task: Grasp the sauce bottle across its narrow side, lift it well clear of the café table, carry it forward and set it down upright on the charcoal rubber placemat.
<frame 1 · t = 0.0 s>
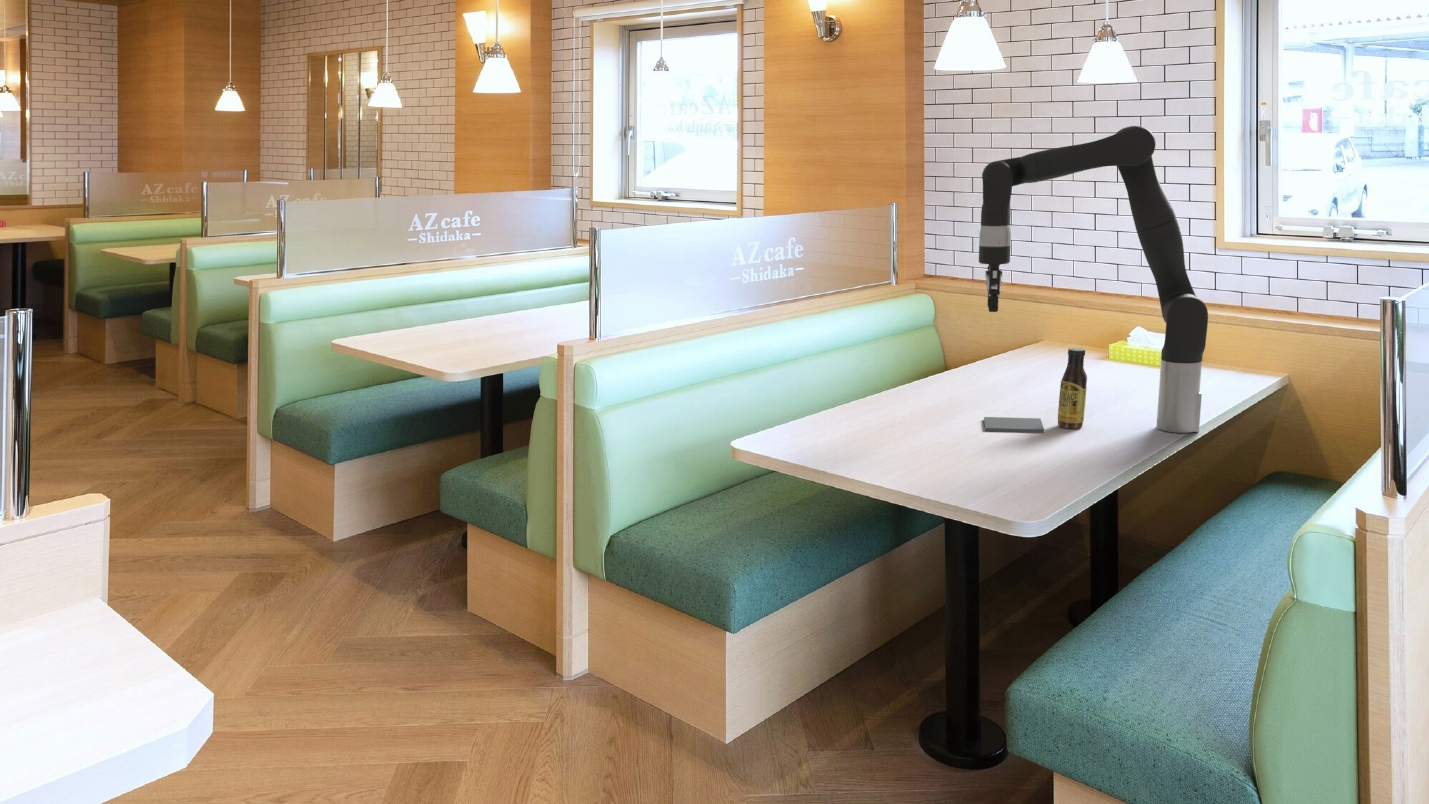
hand: (992, 309, 273), 29 cm above the table, fingers open, 8 cm apart
sauce bottle: (1070, 427, 274), on the table
placemat: (1013, 426, 276), on the table
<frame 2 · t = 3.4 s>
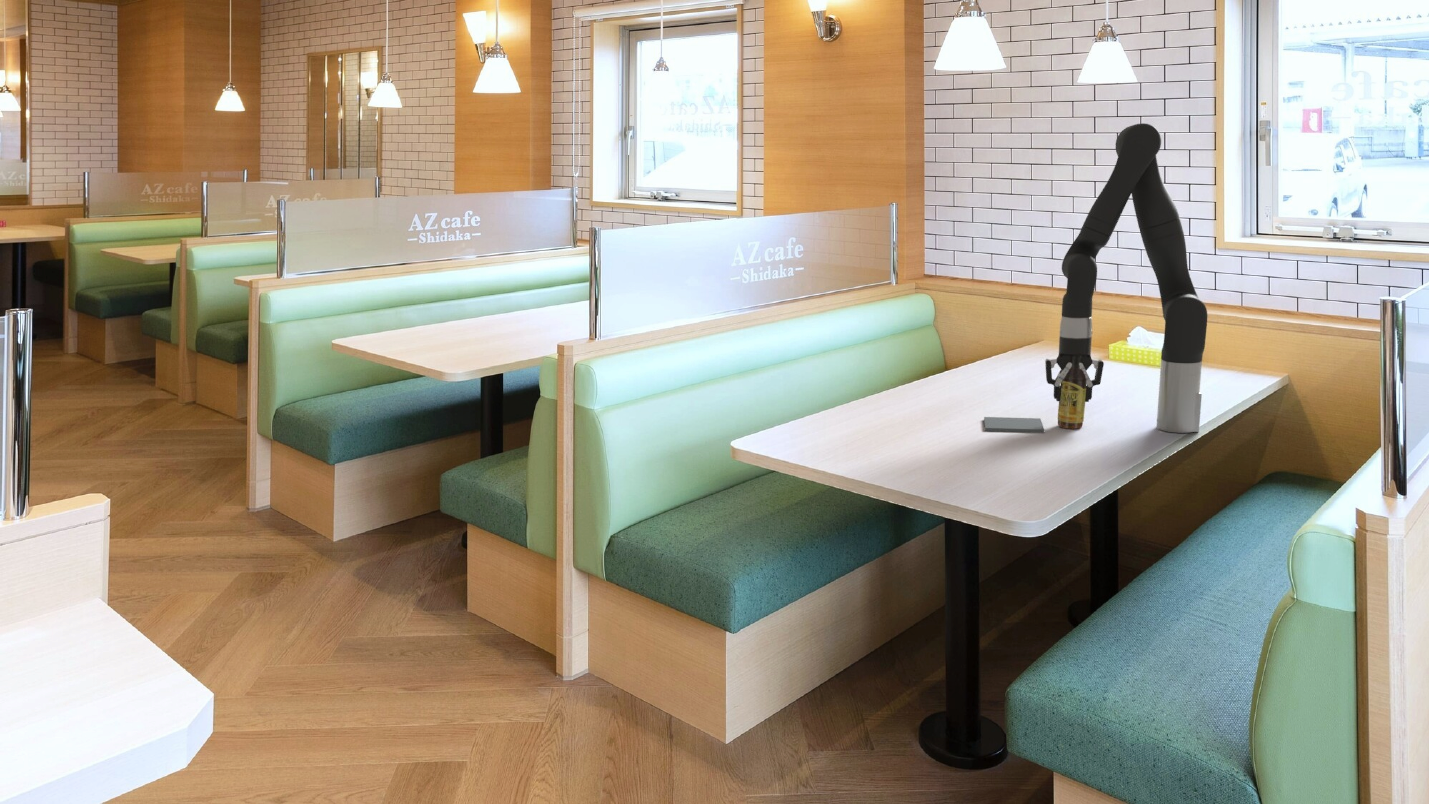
hand: (1072, 400, 273), 7 cm above the table, fingers closed on sauce bottle, 6 cm apart
sauce bottle: (1070, 427, 274), on the table, touching gripper
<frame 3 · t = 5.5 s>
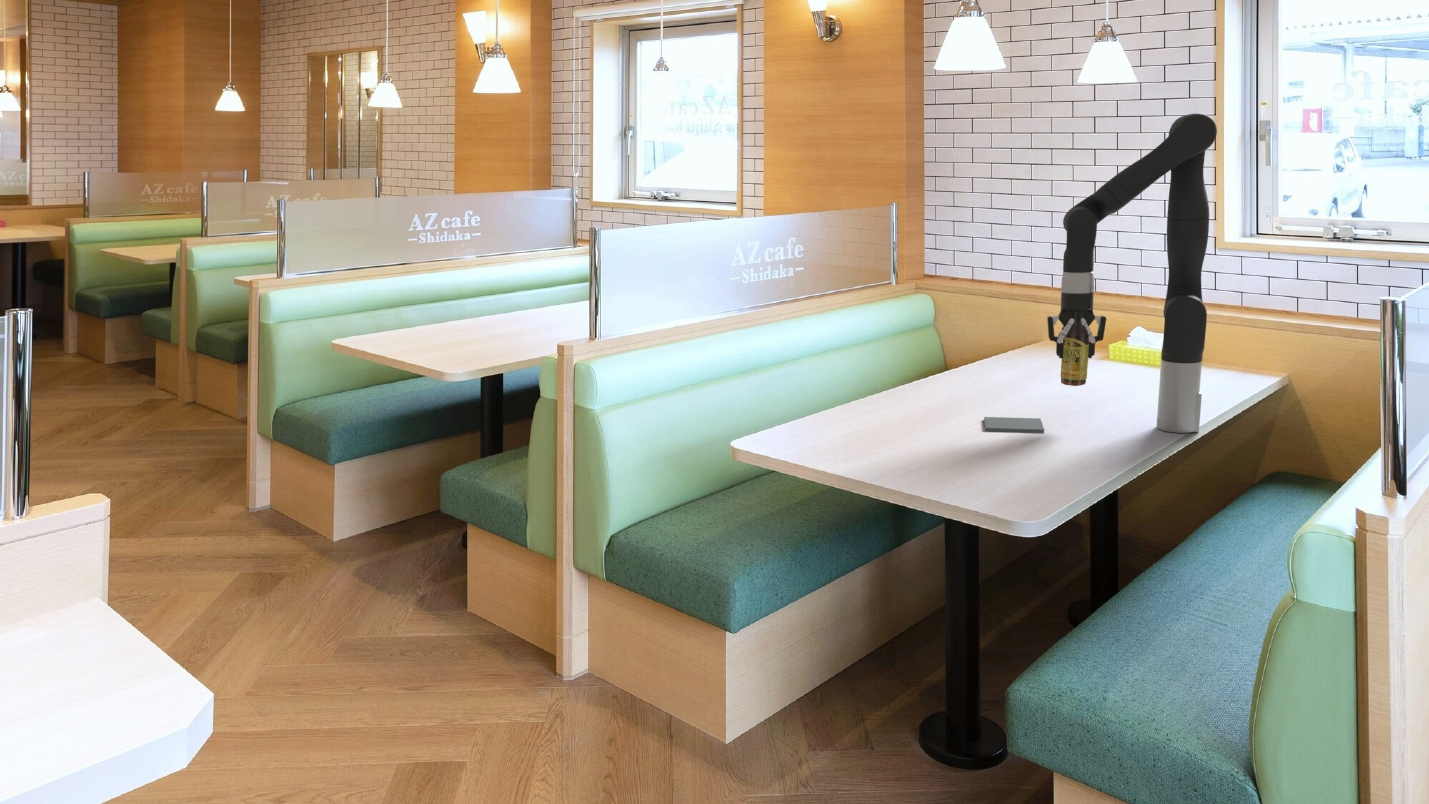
hand: (1075, 357, 270), 18 cm above the table, fingers closed on sauce bottle, 6 cm apart
sauce bottle: (1074, 385, 272), point 11 cm above the table, touching gripper
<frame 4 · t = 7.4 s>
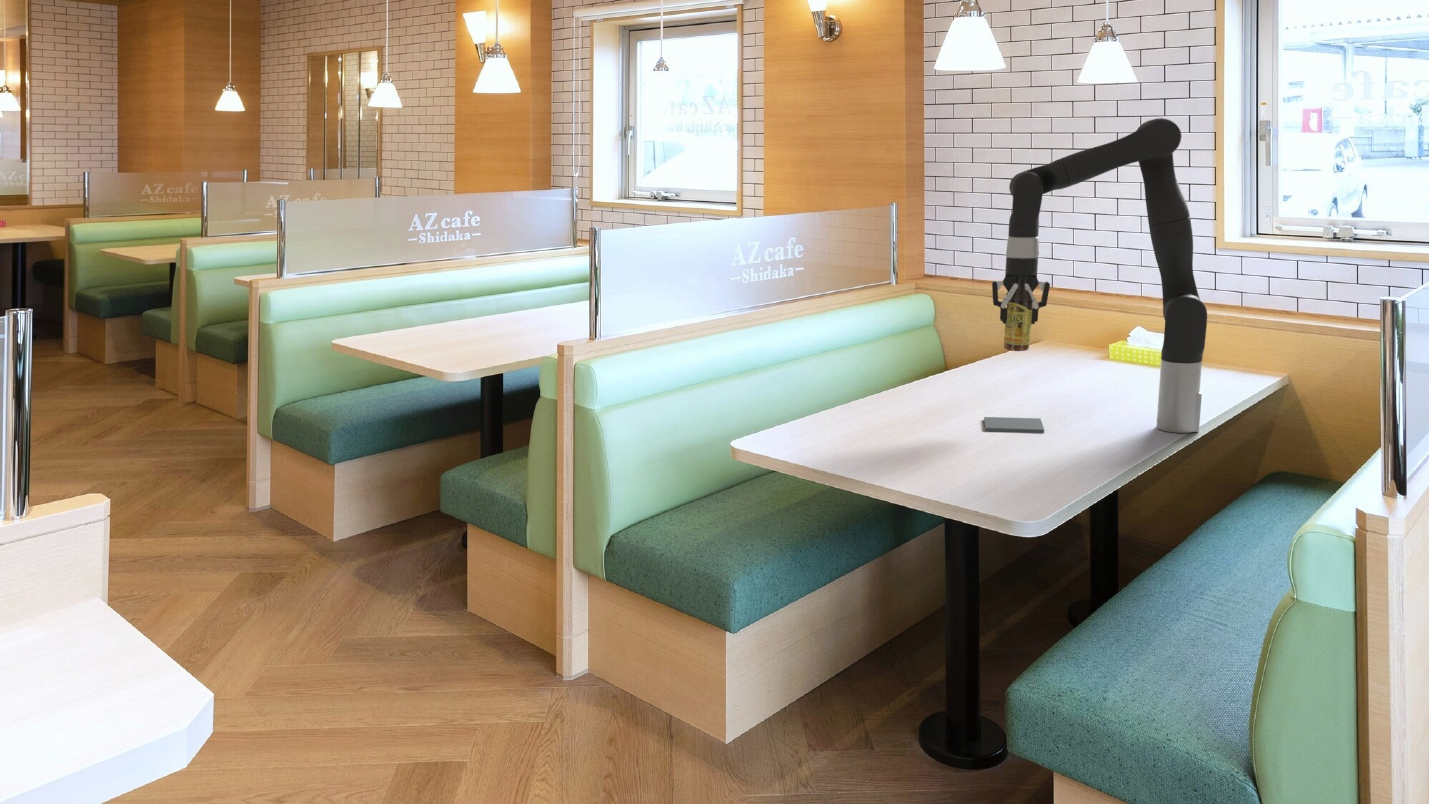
hand: (1018, 323, 270), 26 cm above the table, fingers closed on sauce bottle, 6 cm apart
sauce bottle: (1017, 350, 272), point 19 cm above the table, touching gripper
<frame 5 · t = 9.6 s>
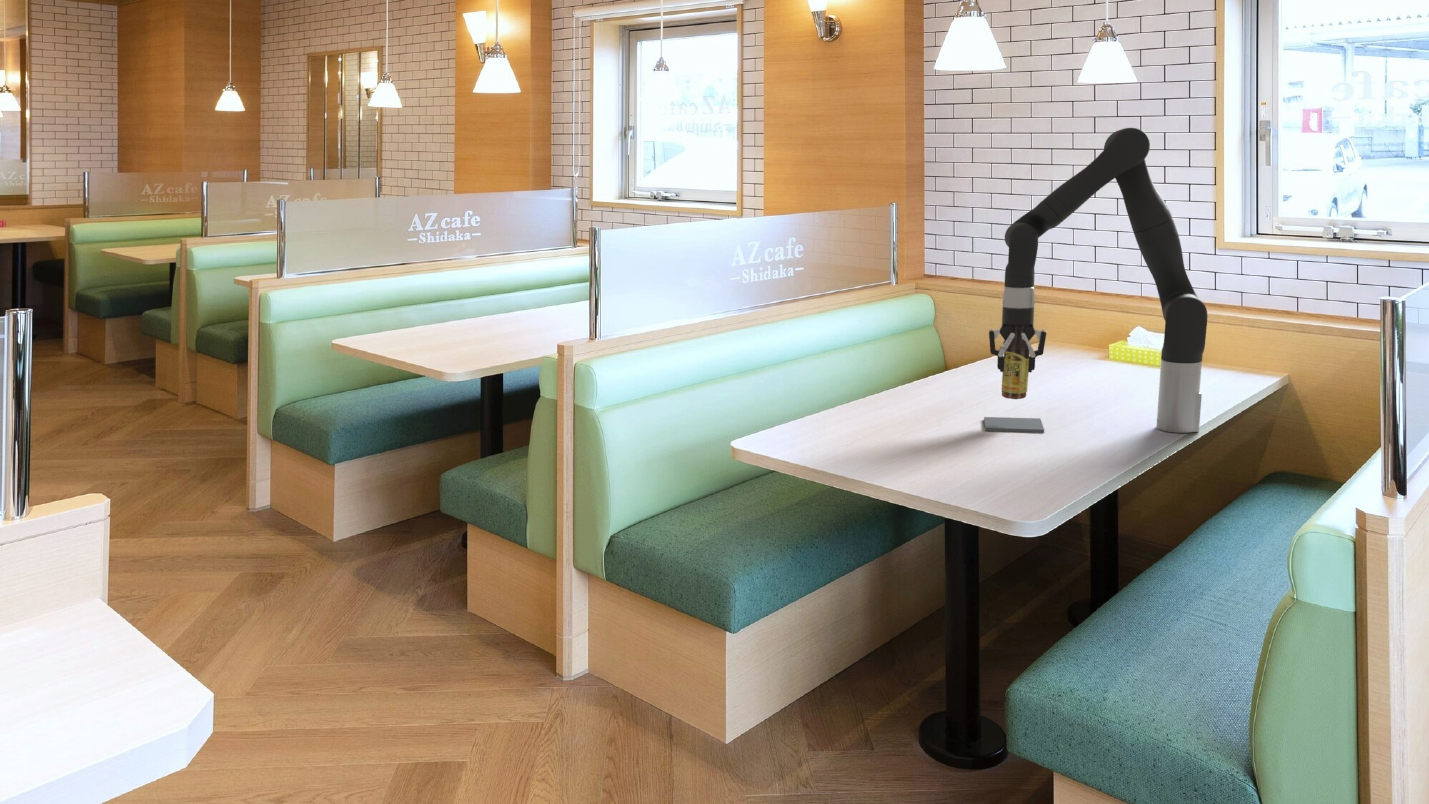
hand: (1015, 371, 273), 14 cm above the table, fingers closed on sauce bottle, 6 cm apart
sauce bottle: (1014, 398, 274), point 7 cm above the table, touching gripper
when the fingers open (9 cm above the table, at t = 11.3 s): sauce bottle drops 1 cm, resting on placemat.
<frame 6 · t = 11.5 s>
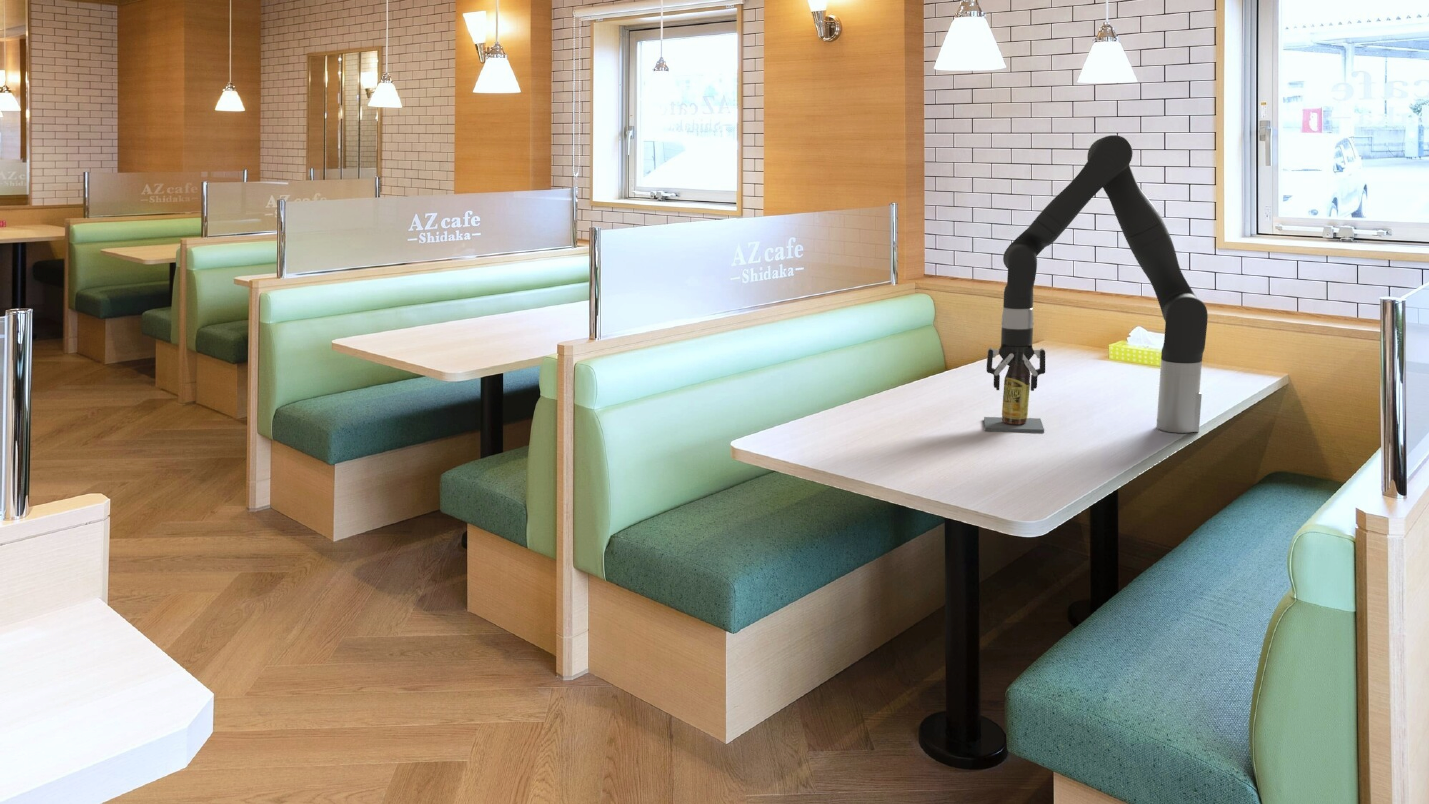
hand: (1014, 390, 274), 9 cm above the table, fingers open, 8 cm apart
sauce bottle: (1014, 423, 276), point 1 cm above the table, touching placemat
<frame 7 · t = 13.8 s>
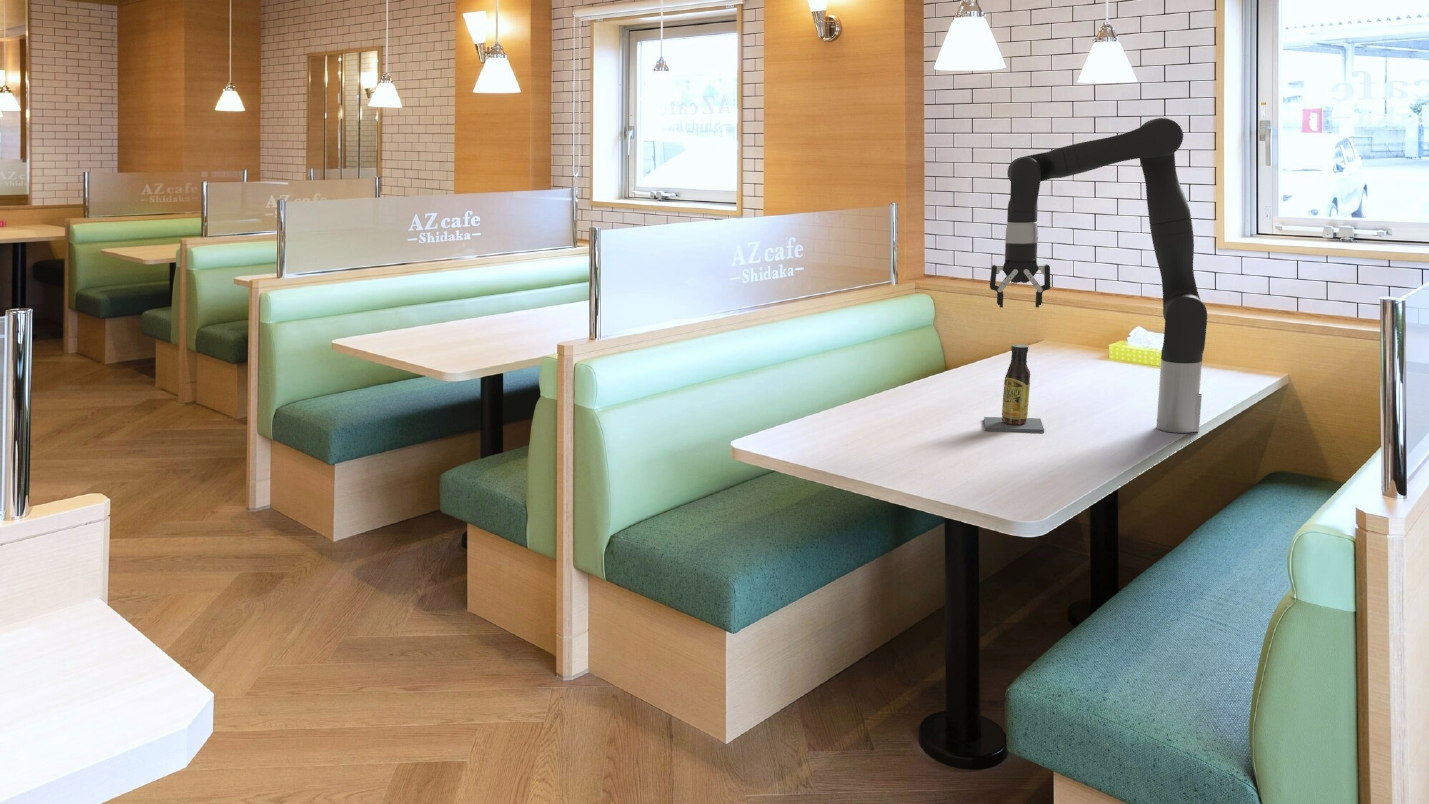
hand: (1019, 307, 270), 30 cm above the table, fingers open, 8 cm apart
nothing on the table moved.
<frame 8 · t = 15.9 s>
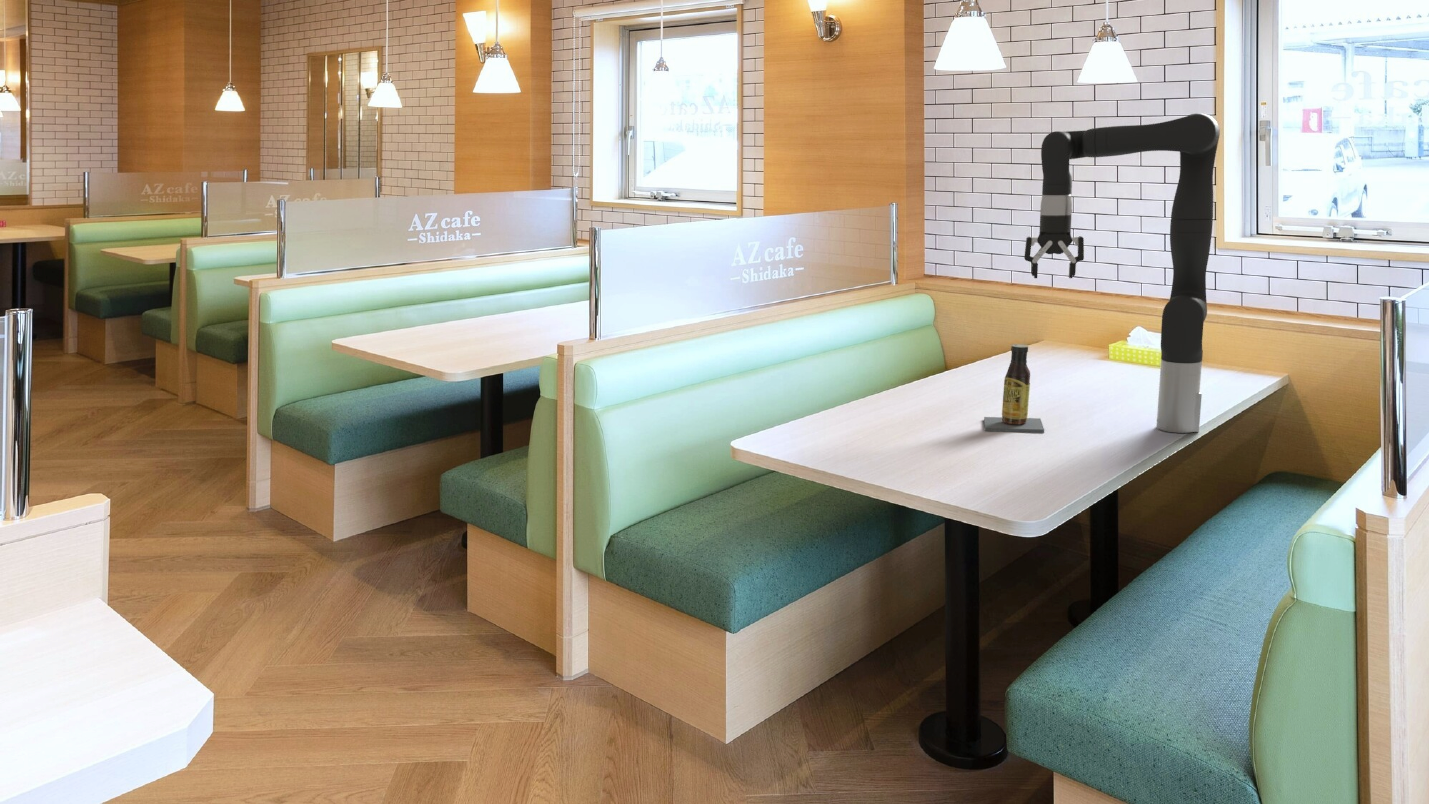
hand: (1052, 278, 278), 36 cm above the table, fingers open, 8 cm apart
nothing on the table moved.
at the end: sauce bottle inside the target area on the placemat (0.4 cm from its centre), point 0.6 cm above the placemat's base; sauce bottle tilted 0°; the gripper is holding nothing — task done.
